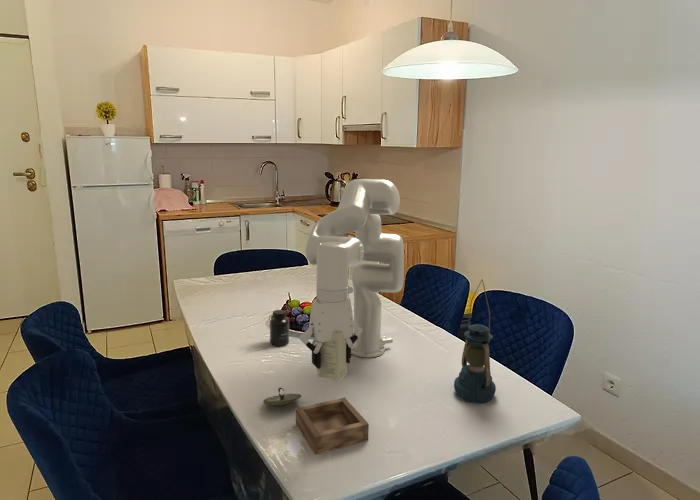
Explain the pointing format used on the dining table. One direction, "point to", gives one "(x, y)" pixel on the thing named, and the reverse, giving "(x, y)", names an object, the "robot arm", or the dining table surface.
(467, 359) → the lantern
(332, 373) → the skincare box
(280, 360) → the dining table surface
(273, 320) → the supplement bottle
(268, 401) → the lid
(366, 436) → the wooden tray
